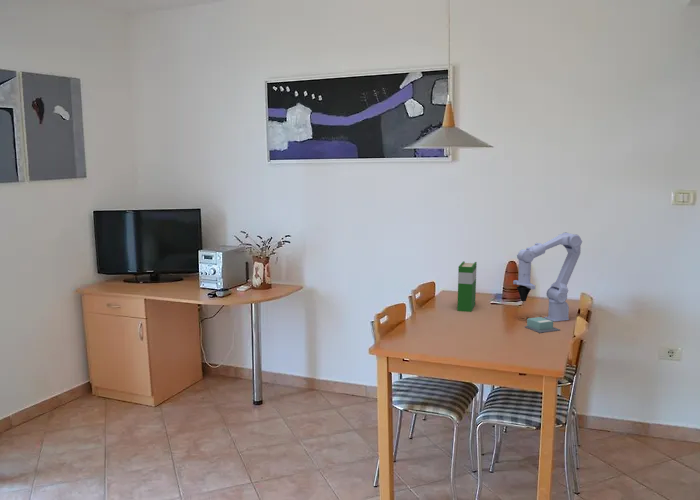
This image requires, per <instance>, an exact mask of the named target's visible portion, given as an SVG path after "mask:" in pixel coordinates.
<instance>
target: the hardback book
mask: <svg viewBox="0 0 700 500" xmlns="http://www.w3.org/2000/svg"><path fill="white" fill-rule="evenodd" d="M457 279H458V280H457V306H456V309H457V312H464V313H465V312H467V313H472V312H473V310H474V309H475V306H476V296H477V295H476V293H477V292H476V290H477V261H474V263H473V262H472V263H471V262H465V261H462V262H461V263H460V264H459V266H458V274H457Z"/></svg>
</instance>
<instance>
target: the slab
mask: <svg viewBox="0 0 700 500" xmlns="http://www.w3.org/2000/svg"><path fill="white" fill-rule="evenodd" d="M526 326H529V327H532V328H535V329H537V330H546V329H553V327H554V321H552V320H549V319H546V318H544V317H542V316H538V317H530V318H527V319H526Z"/></svg>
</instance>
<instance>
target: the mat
mask: <svg viewBox="0 0 700 500" xmlns="http://www.w3.org/2000/svg"><path fill="white" fill-rule="evenodd" d="M524 328H526V329H527V330H531V331H532V332H533V331H534V332H535V333H538V334H543V333H551V332H558V331H559V332H560V331H561V329H560V328H557V327H554V326H553V329H546V330H537V329H535V328H532V327H529V326H527V325H525V326H524Z"/></svg>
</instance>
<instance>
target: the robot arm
mask: <svg viewBox="0 0 700 500" xmlns="http://www.w3.org/2000/svg"><path fill="white" fill-rule="evenodd" d="M582 243H583V240H582V238H581V237H580V235H579V234H575V233H569V232H563V233H560V234H558V235H557V236H555V237H553V238H551V239H549V240H547V241H546V242H544V243H541V242H535V243H534V245H531V246H530V247H526V248H525V249H520V250H519V251H518V253H517V254H516V258H517V259H518V276H517V277H518V280H517V279H515V280H513V281H512V284H513V285H517V286H516V289H517V291H518V294H519V298H520V301H521V302H527V300H528V299H527V298H528V295H529V293H530V291H531V290H536V285H535V284H533V283H531V277H532V276H531V272H532V262H533V260H534V259H536V258H537V257H539V256H542V255H544V254H545V253H546V251H547V250H549V249H552V248H554V247H557V246H559V245H562V246H563V247H564V248H565V250H566V252H567V255H566V257H565V259H564V262H563V264H562V266H561V269H560V271H559V273H558V275H557V279H556V281H555V282H553V283H552V284H551V285H550V287H549V288H548V289H547V290H546V297H547V298H548V313H547V314H548V316H544V317H543V318H545V319H548V320H551V321H553V322H561V321H563V322H564V321H568V320H569V321H570V318H569V309H570V306H569V304H568V302H567V298H568V293H569V288H568V283H569V282H570V279H571V277H572V275H573V272H574V270H575V267H576V265H577V262H578V260H579V257H580V255H581V249H582V248H581V246H582Z"/></svg>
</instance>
